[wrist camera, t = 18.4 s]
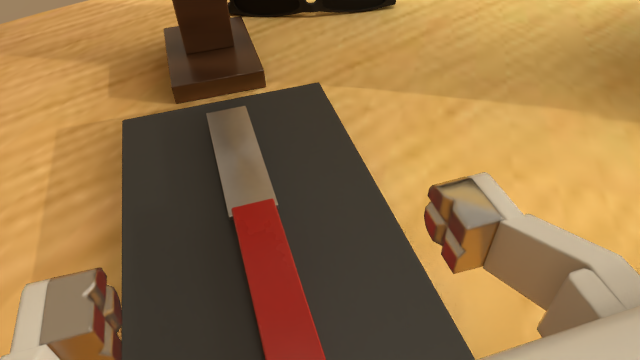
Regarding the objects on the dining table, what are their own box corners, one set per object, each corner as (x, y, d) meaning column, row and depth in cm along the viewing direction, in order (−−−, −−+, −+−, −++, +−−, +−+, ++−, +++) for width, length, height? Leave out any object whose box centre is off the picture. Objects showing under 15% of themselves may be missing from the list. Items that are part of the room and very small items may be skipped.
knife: (332, 377, 18) (332, 360, 17) (269, 398, 18) (264, 381, 17) (247, 117, 31) (244, 97, 30) (208, 124, 31) (204, 104, 30)
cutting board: (494, 422, 18) (503, 409, 17) (134, 555, 16) (120, 548, 15) (319, 99, 35) (318, 82, 34) (129, 137, 32) (122, 120, 31)
